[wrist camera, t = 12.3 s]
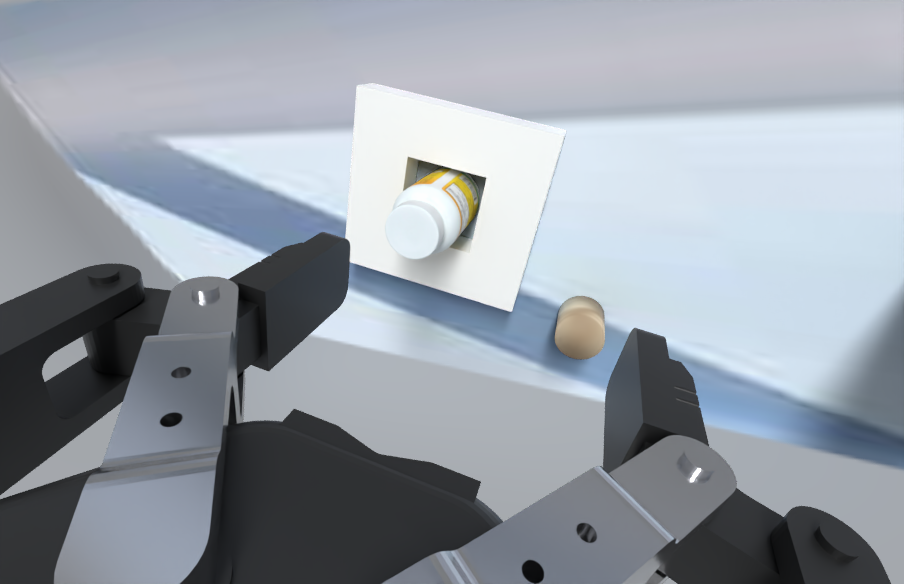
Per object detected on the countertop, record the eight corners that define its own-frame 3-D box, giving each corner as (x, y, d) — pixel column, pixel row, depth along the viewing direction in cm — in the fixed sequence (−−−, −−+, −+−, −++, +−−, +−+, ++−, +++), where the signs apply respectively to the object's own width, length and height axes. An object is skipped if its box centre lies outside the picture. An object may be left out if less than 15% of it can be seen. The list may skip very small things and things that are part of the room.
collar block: (566, 130, 35) (564, 136, 32) (516, 296, 42) (511, 312, 40) (373, 83, 37) (356, 85, 35) (358, 248, 45) (343, 260, 42)
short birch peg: (611, 304, 40) (612, 327, 37) (594, 340, 42) (594, 365, 39) (566, 290, 41) (563, 311, 37) (552, 326, 43) (548, 350, 39)
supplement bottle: (489, 179, 38) (459, 213, 30) (469, 235, 41) (437, 280, 33) (430, 156, 39) (384, 183, 30) (415, 213, 41) (369, 252, 33)
